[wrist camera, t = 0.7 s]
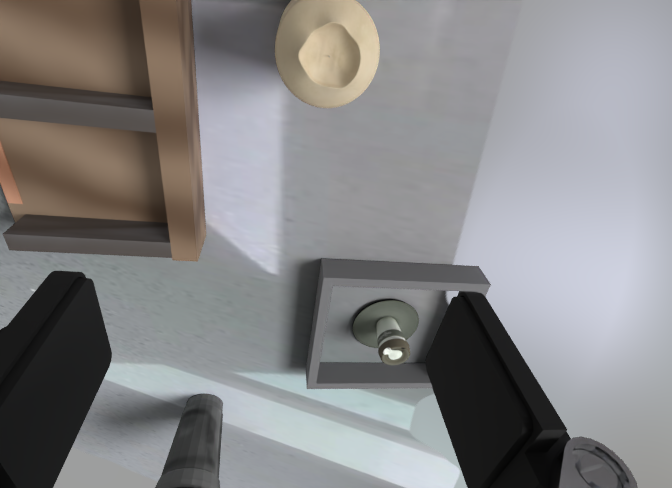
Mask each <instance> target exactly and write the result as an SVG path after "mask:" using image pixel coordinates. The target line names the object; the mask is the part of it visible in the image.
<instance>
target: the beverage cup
mask: <svg viewBox="0 0 672 488" xmlns="http://www.w3.org/2000/svg"><path fill="white" fill-rule="evenodd" d="M222 407H223V403H222V400H221V399H219V398H218V397H216V396H214V395H210V394H199V395H195V396H192V397H191V398H190V399H189V400H188V402H187V405H186V407H185V410H184V412H183V414H182V417H181V420H180V423H179V426H178V428H177V431H176V434H175V437H174V440H173V443H172V446H171V449H170V452H169V455H168V458H167V460H166V463H165V466H164V469H163V472H162V475H161V477H160V479H159V481H158V483H157V485H156V487H155V488H220V481H219V464H220V449H221V433H222V417H223V414H222Z"/></svg>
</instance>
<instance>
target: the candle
mask: <svg viewBox="0 0 672 488" xmlns="http://www.w3.org/2000/svg"><path fill="white" fill-rule="evenodd" d="M379 53H380V46H379V37H378V33H377V30H376V27H375V25H374V22H373V20H372V19H371V17H370V15H369V14H368V12H367V11H366V10H365V9H364V8H363V7H362V6H361V5H360V4H359V3H358V2H357V1H355V0H291V1H290V3H289V4H288V5H287V7H286V8H285V10H284V12H283V14H282V16H281V19H280V23H279V27H278V31H277V35H276V40H275V59H276V64H277V68H278V71H279V74H280V76H281V78H282V80H283V82H284V84H285V85H286V86H287V88H288V89H289V90H290V91H291V92H292V93H293V94H294V95H295V96H296V97H297V98H298V99H300V100H301V101H303V102H305V103H307V104H309V105H312V106H315V107H320V108H334V107H339V106H343V105H345V104H348V103H350V102H351V101H353V100H355V99H356V98H357V97H359V96H360V95H361V94H362V93H363V92H364V91H365V89H366V88H367V87H368V86H369V84H370V82H371V81H372V79H373V77H374V75H375V72H376V69H377V66H378V62H379Z"/></svg>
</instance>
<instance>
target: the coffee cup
mask: <svg viewBox="0 0 672 488" xmlns="http://www.w3.org/2000/svg"><path fill="white" fill-rule="evenodd" d="M418 322H419V318H418V314H417V312H416V310H415V309H414V308H413V307H412V306H410V305H408V304H407V303H405V302H402V301H398V300H385V301H380V302H377V303H374V304H372V305H370V306H368V307H367V308H365V309H364V310H362V311H361V312H360V313H359V314H358V315H357V317H356V319H355V320H354V323H353V333H354V336H355V337H356V339H357V340H358V341H359V342H361V343H362V344H364V345H366V346H369V347H373V348H379V350H378V353H379V356H380V358H381V360H382V362H383V363H385V364H387V365H399V364H401V363H403V362H405V361H406V360H407V359H408V358H409V356H410V348H409V344H408V343H407V342H406V340H407V339H408V338H409V337H410V336H412V335H413V333H414V332H415V331H416V329H417V326H418Z"/></svg>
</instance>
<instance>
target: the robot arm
mask: <svg viewBox="0 0 672 488" xmlns="http://www.w3.org/2000/svg"><path fill="white" fill-rule="evenodd" d="M111 357H112V352H111V348H110V344H109V340H108V336H107V333H106V329H105V325H104V321H103V317H102V314H101V310H100V306H99V302H98V298H97V295H96V291H95V287H94V283H93V281H92V280H91V279H88V278H86V277H85V275H84V274H83V273H82V272H69V271H53V272H51V273H50V274H49V275H48V277H47V278H46V279H45V280H44V281H43V283H42V284H41V285H40V286H39V288H38V289H37V290H36V291H35V293H34V294H33V295H32V296H31V297H30V299H29V300H28V301H27V302H26V304H25V305H24V306H23V307H22V309H21V310H20V311H19V312H18V313H17V315H16V316H15V317H14V318H13V320H12V321H11V322H10V323H9V325H8V326H6V327H4V328H2V329H1V330H0V488H53V486H54V484H55V482H56V480H57V478H58V475H59V473H60V471H61V469H62V467H63V465H64V462H65V460H66V458H67V456H68V454H69V452H70V450H71V448H72V445H73V443H74V441H75V439H76V437H77V435H78V433H79V430H80V428H81V426H82V424H83V422H84V420H85V417H86V415H87V413H88V411H89V409H90V407H91V405H92V402H93V400H94V398H95V396H96V394H97V392H98V390H99V387H100V385H101V383H102V381H103V379H104V377H105V374H106V372H107V370H108V368H109V366H110V362H111ZM426 370H427V373H428V376H429V379H430V382H431V385H432V388H433V391H434V393H435V396H436V399H437V402H438V405H439V408H440V410H441V413H442V416H443V419H444V422H445V425H446V428H447V430H448V433H449V436H450V439H451V442H452V445H453V448H454V450H455V453H456V456H457V459H458V462H459V465H460V467H461V470H462V473H463V476H464V479H465V482H466V485H467V487H468V488H638V487H637V483H636V480H635V478H634V477H633V475H632V473H631V471H630V470H629V468H628V467H627V466H626V464H625V463H624V462H623V461H622V459H620V458H619V457H618V456H617V455H616V454H615V453H614V452H613V451H612V450H610V449H609V448H607V447H606V446H605V445H603V444H602V443H599V442H597V441H595V440H593V439H590V438H585V437H575V438H572V439H571V438H570V437H569V435H568V433H567V432H566V430H567V429H566V427H565V425H564V424H563V422H562V420H561V419H560V417H559V416H558V414H557V412H556V411H555V409H554V407H553V406H552V404H551V403H550V401H549V399H548V398H547V396H546V395H545V393H544V391H543V390H542V388H541V386H540V385H539V383H538V382H537V380H536V379H535V377H534V375H533V373H532V372H531V370H530V369H529V367H528V365H527V364H526V362H525V361H524V359H523V357H522V356H521V354H520V352H519V351H518V349H517V348H516V346H515V344H514V343H513V341H512V340H511V338H510V336H509V335H508V333H507V331H506V330H505V328H504V327H503V325H502V323H501V322H500V320H499V318H498V317H497V315H496V314H495V312H494V310H493V309H492V307H491V305H490V304H489V302H488V301H487V299H486V297H485V296H484V295H483V294H482V293H475V292H460V293H459V294H458V296H457V297H453V298H452V300H451V302H450V305H449V307H448V309H447V311H446V314H445V316H444V318H443V321H442V323H441V325H440V327H439V330H438V332H437V334H436V337H435V339H434V341H433V344H432V346H431V348H430V350H429V353H428V355H427V357H426Z"/></svg>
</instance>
